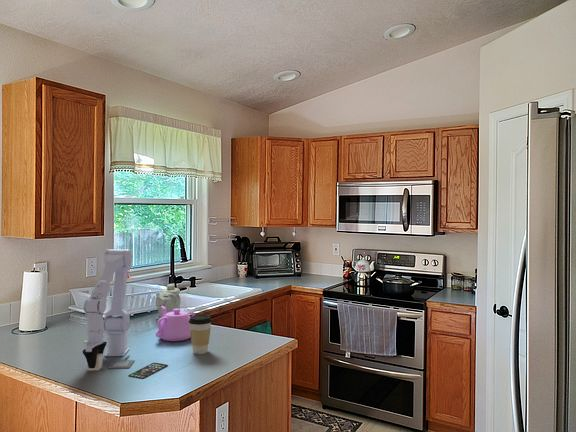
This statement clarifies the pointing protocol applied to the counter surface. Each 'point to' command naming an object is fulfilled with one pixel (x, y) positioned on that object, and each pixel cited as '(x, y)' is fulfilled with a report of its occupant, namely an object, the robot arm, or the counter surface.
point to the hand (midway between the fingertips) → (95, 364)
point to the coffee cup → (200, 333)
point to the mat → (121, 364)
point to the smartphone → (148, 370)
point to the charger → (97, 363)
